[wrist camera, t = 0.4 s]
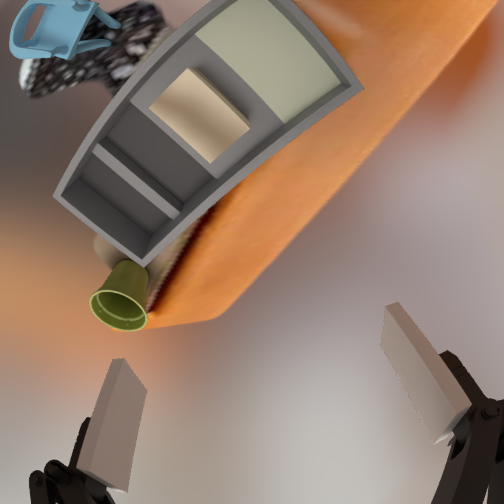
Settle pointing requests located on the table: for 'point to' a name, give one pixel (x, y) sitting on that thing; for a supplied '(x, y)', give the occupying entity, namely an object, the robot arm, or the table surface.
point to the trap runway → (175, 147)
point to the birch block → (201, 114)
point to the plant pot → (122, 297)
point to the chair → (58, 29)
